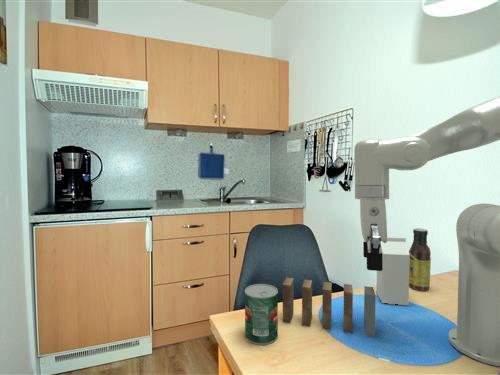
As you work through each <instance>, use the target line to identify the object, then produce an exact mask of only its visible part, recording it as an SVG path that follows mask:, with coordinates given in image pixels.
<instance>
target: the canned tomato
mask: <svg viewBox="0 0 500 375" xmlns="http://www.w3.org/2000/svg"><path fill="white" fill-rule="evenodd" d="M278 294H279V290H278V288H277V287H276V286H274V285H271V284H268V283H255V284H252V285H249V286H246V287H245V289H244V330H245V331H244V335H245V336H244V337H245V340H246V341H247V342H249V343H251V344H253V345H258V346H259V345H260V346H266V345H271V344H273V343H274V342H276V341H277V339H278V337H279V332H278V330H279V323H278V322H279V320H278V319H279V308H278V304H279V302H278V301H279V297H278V296H279V295H278Z"/></svg>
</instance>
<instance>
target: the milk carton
mask: <svg viewBox="0 0 500 375" xmlns="http://www.w3.org/2000/svg"><path fill="white" fill-rule="evenodd" d="M406 240H407V238H406V237H387V242H386V243H384V242H383V241H382V240H381V248H382V264H383V270H382V271H376V290H375V291H376V292H375V294H376V295H377V297H378V298H379V300H380V302H381V303H382V304H383V303H388V304H387V305H395V304H398V305H399V306H409V303H410V302H409V301H410V299H409V298H410V286H409V259H410V254H409V248H408V245H407V241H406Z"/></svg>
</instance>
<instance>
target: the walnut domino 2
mask: <svg viewBox="0 0 500 375" xmlns="http://www.w3.org/2000/svg"><path fill="white" fill-rule="evenodd" d="M301 296H302V297H301V326H304V327H311V325H312V324H311V323H312V320H313V280H312V279H304V280H303V283H302V286H301Z"/></svg>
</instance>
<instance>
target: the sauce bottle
mask: <svg viewBox="0 0 500 375" xmlns="http://www.w3.org/2000/svg"><path fill="white" fill-rule="evenodd" d="M412 230H413V231H412V233H413V240H412V244H411V246H410V247H409V249H408V251H409V254H410V259H409V288H411V289H413V290H416V291H420V292H421V291H422V292H426V291H428V290H430V285H431V265H432V264H431V260H432V258H431V255H432V254H431V249H430V247H429V246H428V241H427V239H428V235H429V232H428V229H425V228H418V227H417V228H413V229H412Z"/></svg>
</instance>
